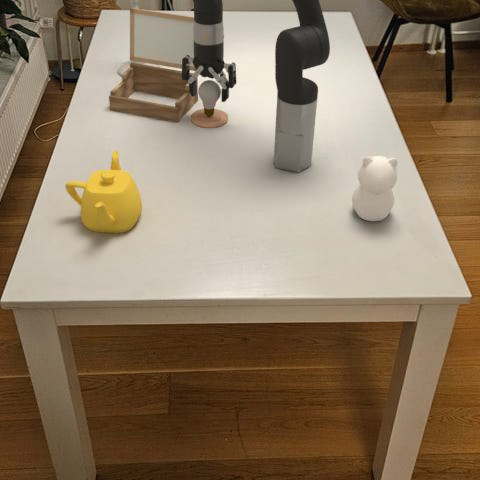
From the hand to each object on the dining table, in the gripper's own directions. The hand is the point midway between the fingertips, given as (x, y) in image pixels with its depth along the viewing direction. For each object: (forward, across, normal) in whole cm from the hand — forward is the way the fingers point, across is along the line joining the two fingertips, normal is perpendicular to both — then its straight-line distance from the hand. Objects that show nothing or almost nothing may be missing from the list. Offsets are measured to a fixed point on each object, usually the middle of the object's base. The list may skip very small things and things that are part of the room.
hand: (209, 98), depth 184 cm
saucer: (+6, 0, 0) cm, 6 cm away
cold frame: (+6, -17, +2) cm, 18 cm away
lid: (-10, -17, +10) cm, 22 cm away
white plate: (+6, -31, +21) cm, 38 cm away
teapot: (+6, -4, -50) cm, 51 cm away
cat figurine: (+6, +49, -27) cm, 56 cm away
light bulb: (+6, 0, 0) cm, 6 cm away
